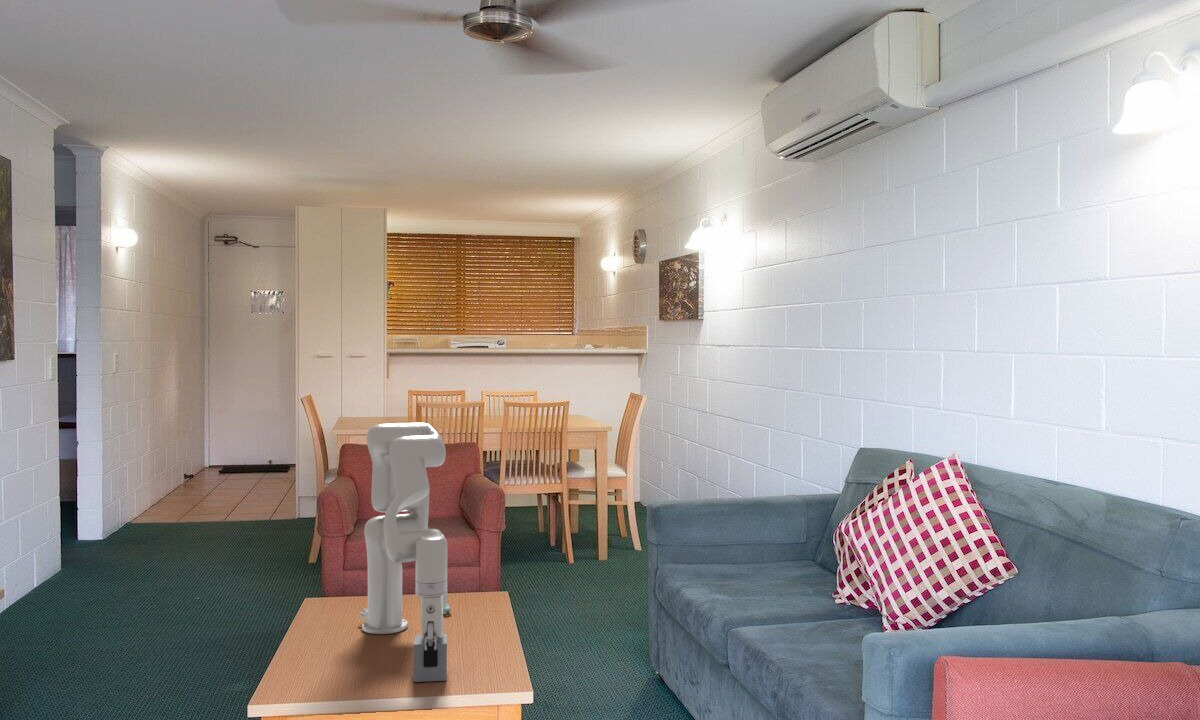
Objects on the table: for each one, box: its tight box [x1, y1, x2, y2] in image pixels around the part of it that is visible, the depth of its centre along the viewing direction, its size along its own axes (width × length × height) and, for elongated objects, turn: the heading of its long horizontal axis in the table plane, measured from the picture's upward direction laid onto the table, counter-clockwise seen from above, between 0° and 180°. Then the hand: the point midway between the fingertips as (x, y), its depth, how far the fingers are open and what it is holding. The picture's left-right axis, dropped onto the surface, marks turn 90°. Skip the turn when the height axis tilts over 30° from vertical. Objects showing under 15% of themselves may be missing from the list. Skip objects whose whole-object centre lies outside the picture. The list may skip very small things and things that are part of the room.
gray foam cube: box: [412, 633, 448, 683], centre depth 221 cm, size 8×8×9 cm
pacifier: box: [443, 593, 452, 615], centre depth 275 cm, size 7×6×6 cm
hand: (431, 660), depth 221 cm, fingers closed on gray foam cube, 7 cm apart
